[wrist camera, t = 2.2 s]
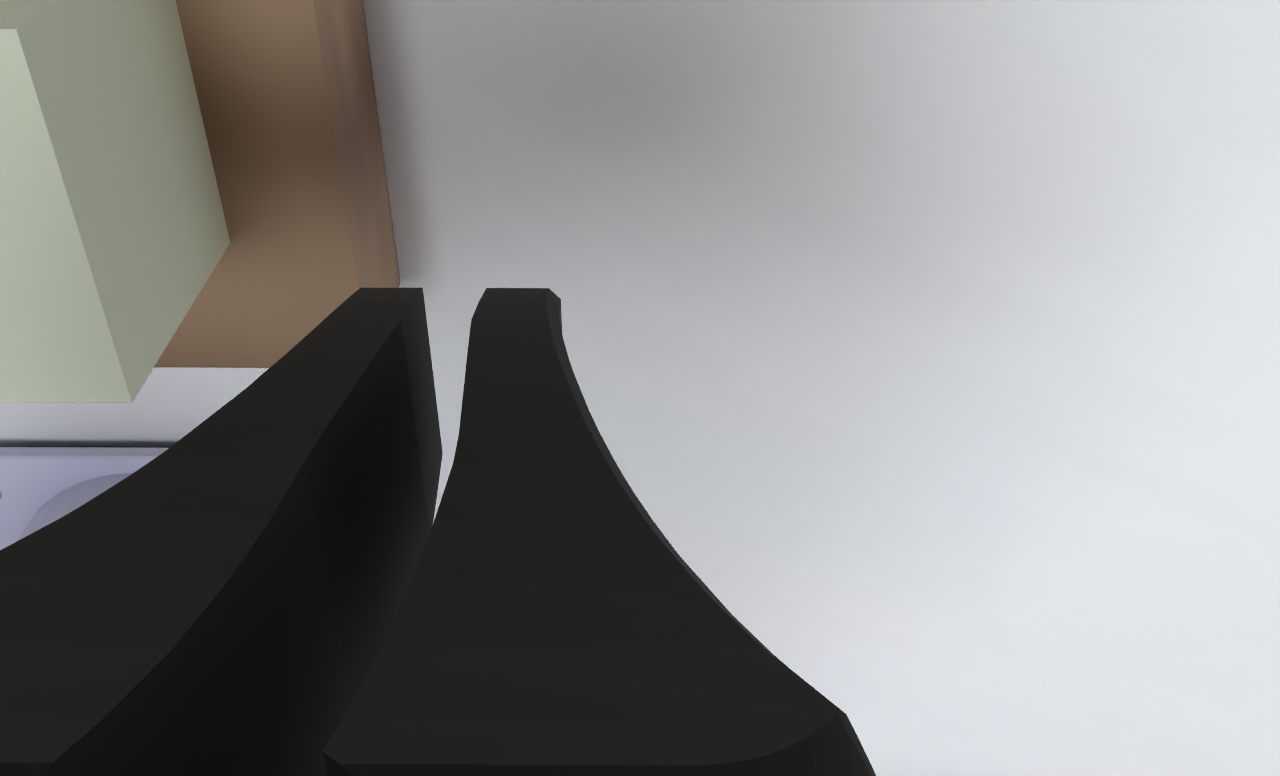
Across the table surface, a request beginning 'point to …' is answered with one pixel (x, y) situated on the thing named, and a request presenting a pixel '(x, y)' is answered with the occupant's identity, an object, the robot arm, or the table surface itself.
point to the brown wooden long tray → (284, 174)
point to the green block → (98, 196)
